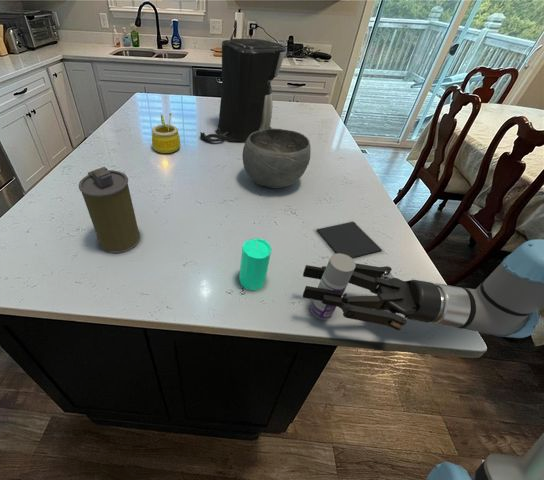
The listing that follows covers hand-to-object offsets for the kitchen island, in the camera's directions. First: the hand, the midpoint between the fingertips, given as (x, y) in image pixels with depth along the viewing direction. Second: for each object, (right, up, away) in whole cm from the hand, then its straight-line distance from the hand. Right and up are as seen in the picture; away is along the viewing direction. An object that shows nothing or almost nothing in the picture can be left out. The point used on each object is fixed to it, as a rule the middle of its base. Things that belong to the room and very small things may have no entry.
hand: (304, 280), depth 58 cm
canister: (-43, +8, +19) cm, 48 cm away
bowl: (0, +28, +43) cm, 51 cm away
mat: (+17, +8, +22) cm, 29 cm away
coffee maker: (-10, +56, +73) cm, 93 cm away
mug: (-38, +44, +59) cm, 83 cm away
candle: (-9, -1, +11) cm, 14 cm away
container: (+5, -7, +5) cm, 10 cm away
